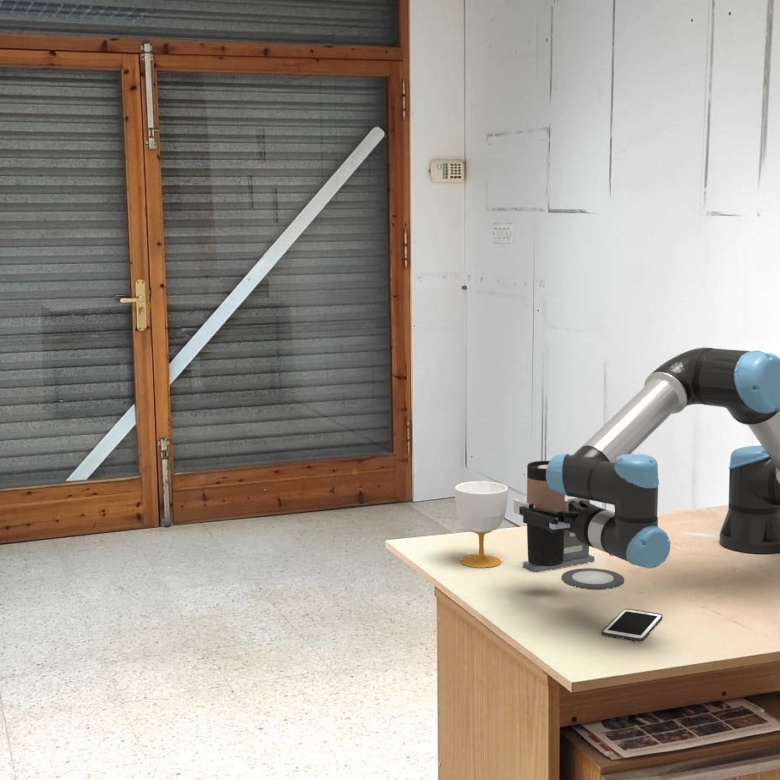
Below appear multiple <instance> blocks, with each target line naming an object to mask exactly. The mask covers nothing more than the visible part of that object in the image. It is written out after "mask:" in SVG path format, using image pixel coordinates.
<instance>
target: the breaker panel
mask: <svg viewBox="0 0 780 780" xmlns="http://www.w3.org/2000/svg"><path fill="white" fill-rule="evenodd" d="M566 500H569V501H576V502H577V503H579V501H580V500H584V501H586V502H588V503H591V502H590V501H591V500H587V499H582V498H576V497H573V498H568V499H566ZM569 512H570V511H569ZM593 561H594V562H595V556H593V555H592V554H590V546H588V545H586V544H583V543H581V542H580V541H579V540H578V539H577V537H576V535H575V534H574V533H571V532H569V531H566V530H565V534H564V559H563V563H562V564H560V565H557V566H537V565H533V564H531V563H529V561H528V560H527V561H523V562H522V568H524V569H525V570H528V571H530V572H532V571H533V573H535V572H536V573H540V571H541V572H545V571H546V570H547V571H551V570H550V569H552V570H556V568H558V569H562V568H561V567H563V568H567V567H566V566H569V567H572V566H571V565H574V566H578V565H577V564H580V565H585V564H589V563H588V562H591V563H594V562H593ZM584 563H585V564H584Z"/></svg>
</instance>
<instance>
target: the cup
mask: <svg viewBox="0 0 780 780" xmlns="http://www.w3.org/2000/svg"><path fill="white" fill-rule="evenodd" d="M508 494H509V487H508V486H507V485H506V484H503V483H501V482H494V481H487V480H486V481H485V480H484V481H483V480H481V481H478V480H477V481H466V482H461V483H459V484H457V485H455V487H454V499H455V506H456V507H455V508H456V513H457V517H458V520H459V521H460V523H461V525H462V526H463V528H465V529H466V530H468V531H470V532H471V533H473V534H477V536H478V554H476V555H475V554H474V555H473V554H472V555H468V556H465V557H463V558H461V560H460V563H461V564H462V565H463V566H466V567H470V568H474V567H476V568H477V569H485V568H484V567H491V568H494V567H493V566H495V567H498V566H499V565H501V563H502V560H501V558H499V557H497V556H493V555H488V554H487V555H486V554H485V551H484V547H485V546H484V541H485V540H484V539H485V535H486V534H489V533H491V532H493V531H496V530H497V529H499V528H500V526H501V524H502V523H503V521H504V519H505V517H506V513H507V507H508V501H509V500H508V499H509V497H508V496H509V495H508ZM497 565H498V566H497ZM480 567H482V568H480ZM476 568H475V569H476Z"/></svg>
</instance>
